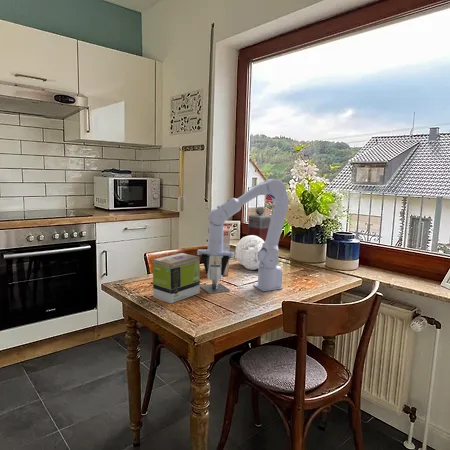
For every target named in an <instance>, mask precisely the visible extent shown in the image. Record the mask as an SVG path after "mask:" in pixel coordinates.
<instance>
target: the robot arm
mask: <svg viewBox="0 0 450 450" xmlns="http://www.w3.org/2000/svg"><path fill="white" fill-rule="evenodd" d="M259 196H269V197H270V198H271V200H272V202H273V203H274V205H273V206H274V207H273V209H272V210H273V211H272V214H271V221H270V225H269V229H268V233H267V237H266V240H265V242H264V243H263V245H262V248H261V250H260V251H259V252H258V259H259V261H260V263H259V268H258V269H257V270H258V273H257V283H254V284H253V287H255V288H256V289H259V290H260V291H262V292H269V291H274V290H282V289H283V269H282V267H281V266H279V265H278V264H279V242H280V238H281V233H282V230H283V226H284V223H285V219H286V215H287V212H288V211H287V210H288V208H289V203H290V202H289V201H290V199H289V196H288V193H287V185H285V183H284V182H283V180H281V179H279V178H267V179H265V180H264V181H262V182H261V181H260V182H259V183H257V184H256V185H255V186H253V187H252V188H250V189H249V190H248V191H246V192H245V193H243V194H242V195H241V196H239V197H237V198H235V197H231V198H230V197H229V198H227V199H226V201H225V202H224V203H222V204H221V205H217V206H216V208H213V209H211V210H210V212H209V213H208V216H207V218H208V221H209V226H208V227H209V249H208V248H207V249H204V248H203V249H197V252H196V253H197V254H196V256H200V260H201V262H202V264H203V266H204V270H205V275H207V274H208V265H209V260H210V256H222V258H221V261H222V271H221V275H224V272H225V268H226V265H227V263H228V261H229V262H230V259H231V258H232V259H234V258H235V251H230V250H229V251H224V250H223V234H224V229H223V228H224V224H225V222H226V220H227V219H229V218H231V217H233V216H234V215H235V214H237V213H239V212H240V211H241V209H242V206H243V205H245V204H247V203H249V202H251V201H252V200H253V199H255V198H257V197H259Z"/></svg>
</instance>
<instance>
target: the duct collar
mask: <svg viewBox="0 0 450 450" xmlns="http://www.w3.org/2000/svg"><path fill="white" fill-rule="evenodd" d="M221 271H222V265H219V264H210V265H208V274H206V275H207V279H208V280H211V281H212V280H218V281H221V280H222V279H223V276H222V275H221Z"/></svg>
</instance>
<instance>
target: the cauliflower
mask: <svg viewBox="0 0 450 450" xmlns="http://www.w3.org/2000/svg"><path fill="white" fill-rule="evenodd" d="M263 243H264V241H263V239H261V238H259V237H258V236H254V235H250V236H248V235H246V236H243V237H242V238H241V239H239V241H238V242H237V243H236V246H235V251H234V258H235V259H236V260H237V261H238V263H239V264H240V265H241V266H243V267H244V268H245V269H246V270H251V271H256V270H258V268H259V263H260V261H259V259H258V252H259V251H260V250H261V248H262V245H263Z"/></svg>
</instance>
